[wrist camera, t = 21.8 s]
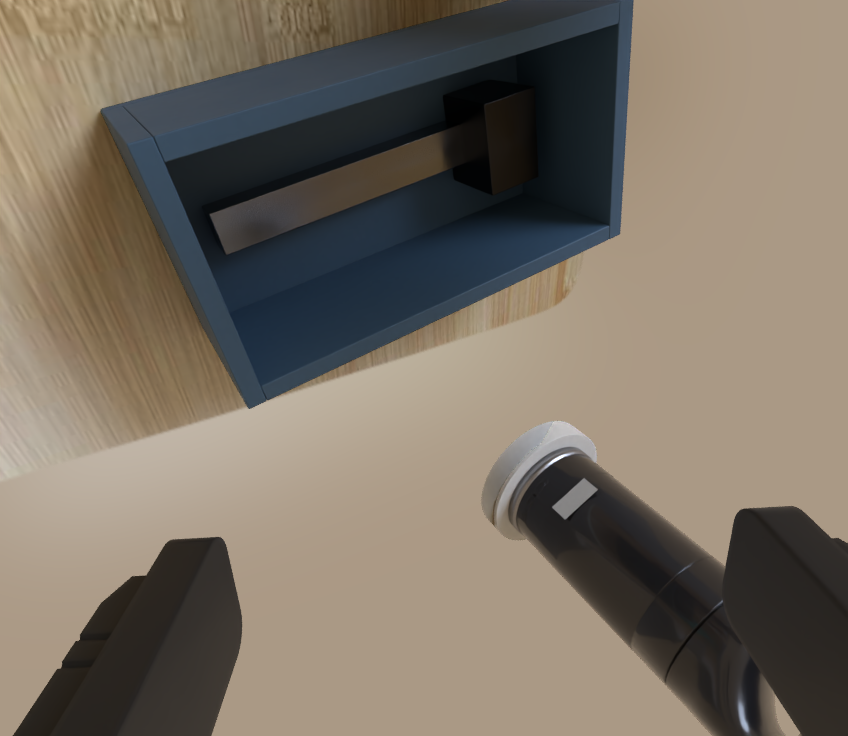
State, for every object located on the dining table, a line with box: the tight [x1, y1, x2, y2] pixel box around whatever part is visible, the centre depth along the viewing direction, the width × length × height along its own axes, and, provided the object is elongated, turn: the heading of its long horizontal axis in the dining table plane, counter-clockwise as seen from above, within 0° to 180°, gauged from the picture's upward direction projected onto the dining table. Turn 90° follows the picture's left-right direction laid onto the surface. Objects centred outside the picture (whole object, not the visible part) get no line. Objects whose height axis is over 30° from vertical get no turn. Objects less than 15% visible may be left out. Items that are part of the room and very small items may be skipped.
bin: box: [101, 0, 633, 409], centre depth 26 cm, size 21×11×8 cm, turn 101°
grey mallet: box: [202, 80, 539, 255], centre depth 27 cm, size 16×4×4 cm, turn 101°
